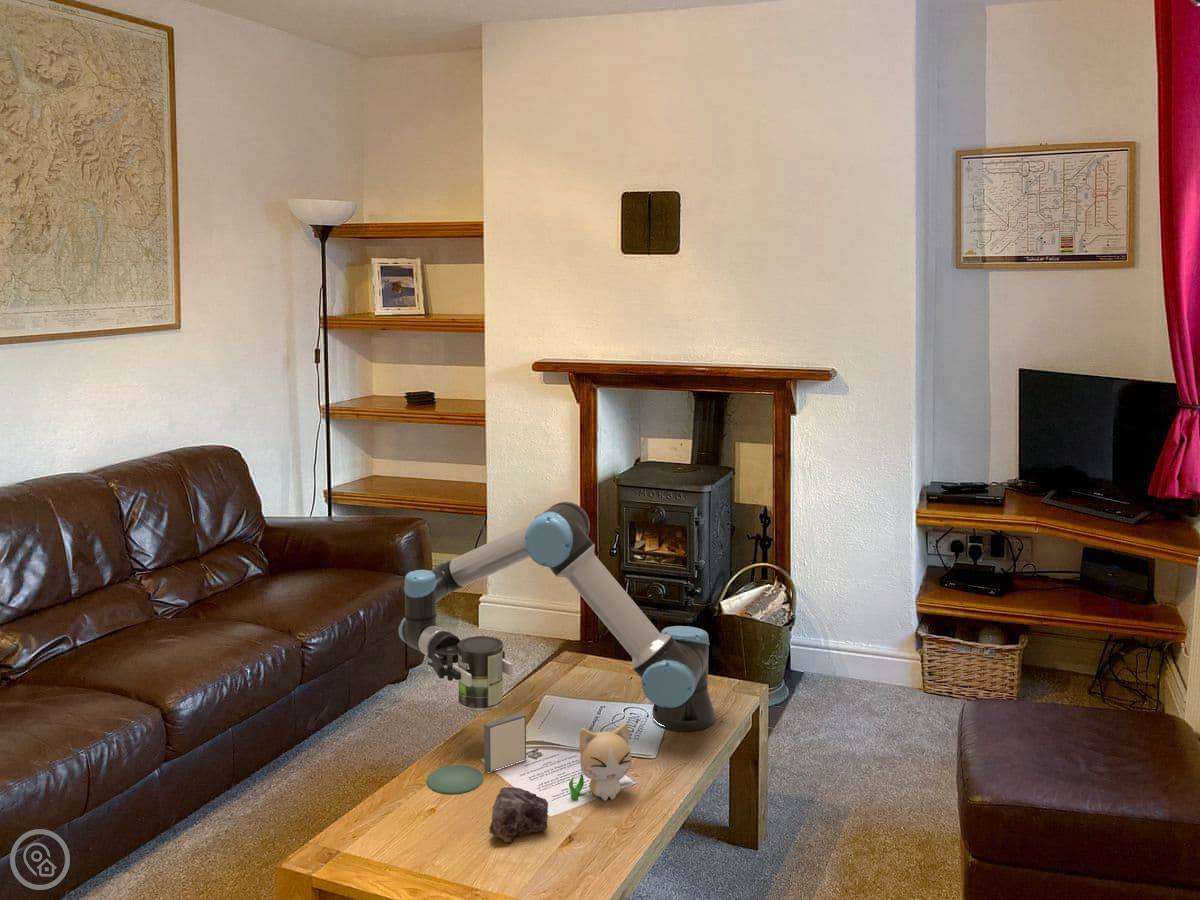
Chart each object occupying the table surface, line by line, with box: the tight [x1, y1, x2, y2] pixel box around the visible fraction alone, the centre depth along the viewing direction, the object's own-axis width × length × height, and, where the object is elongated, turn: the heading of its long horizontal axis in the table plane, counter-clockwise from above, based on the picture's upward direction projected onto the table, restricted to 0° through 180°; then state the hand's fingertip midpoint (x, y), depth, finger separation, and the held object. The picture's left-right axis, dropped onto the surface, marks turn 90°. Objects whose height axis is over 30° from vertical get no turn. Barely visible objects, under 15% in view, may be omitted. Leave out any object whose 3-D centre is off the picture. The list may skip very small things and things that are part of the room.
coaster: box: [426, 764, 484, 795], centre depth 243 cm, size 12×12×1 cm
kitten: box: [568, 722, 633, 802], centre depth 236 cm, size 15×10×15 cm, turn 106°
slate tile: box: [483, 712, 527, 773], centre depth 249 cm, size 2×10×11 cm, turn 128°
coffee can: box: [457, 635, 504, 712], centre depth 254 cm, size 10×10×14 cm
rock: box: [488, 786, 549, 843], centre depth 222 cm, size 12×9×10 cm
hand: (490, 675), depth 250 cm, fingers closed on coffee can, 10 cm apart
